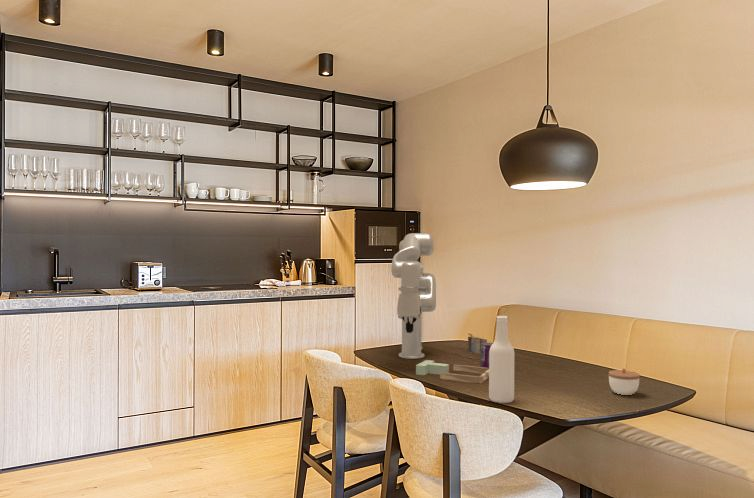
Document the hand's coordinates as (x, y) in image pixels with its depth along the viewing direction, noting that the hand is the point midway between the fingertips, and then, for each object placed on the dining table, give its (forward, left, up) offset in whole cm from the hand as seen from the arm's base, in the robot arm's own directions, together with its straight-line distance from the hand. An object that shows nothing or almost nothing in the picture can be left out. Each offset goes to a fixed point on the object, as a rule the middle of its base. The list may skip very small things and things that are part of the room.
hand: (409, 332), depth 251 cm
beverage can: (-14, +31, -17) cm, 38 cm away
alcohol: (+29, +47, -17) cm, 58 cm away
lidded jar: (0, +86, -17) cm, 88 cm away
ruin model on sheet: (-53, +15, -17) cm, 58 cm away
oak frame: (0, +25, -17) cm, 30 cm away
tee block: (0, +11, -17) cm, 20 cm away
